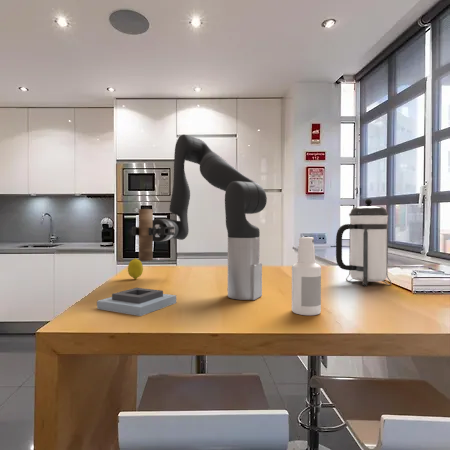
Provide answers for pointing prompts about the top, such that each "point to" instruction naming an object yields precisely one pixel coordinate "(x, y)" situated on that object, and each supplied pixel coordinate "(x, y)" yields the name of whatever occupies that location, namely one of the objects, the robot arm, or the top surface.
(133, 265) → the lemon
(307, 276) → the spray bottle
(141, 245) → the peg
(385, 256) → the coffee press
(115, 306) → the socket
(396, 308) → the top surface
